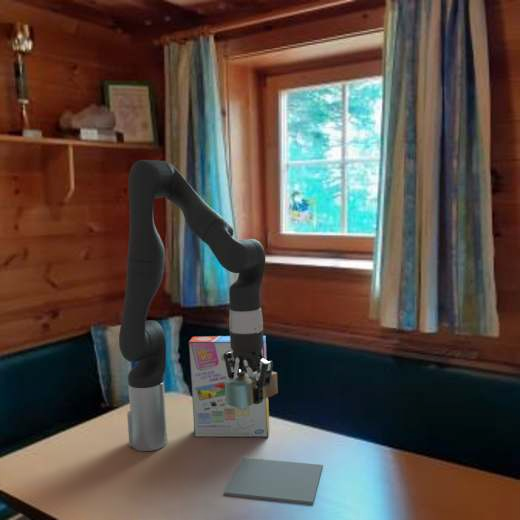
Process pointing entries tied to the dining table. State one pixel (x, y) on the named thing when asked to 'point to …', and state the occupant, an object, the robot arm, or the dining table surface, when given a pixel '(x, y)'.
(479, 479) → the dining table surface
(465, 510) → the dining table surface
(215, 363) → the game box
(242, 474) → the rubber mat
